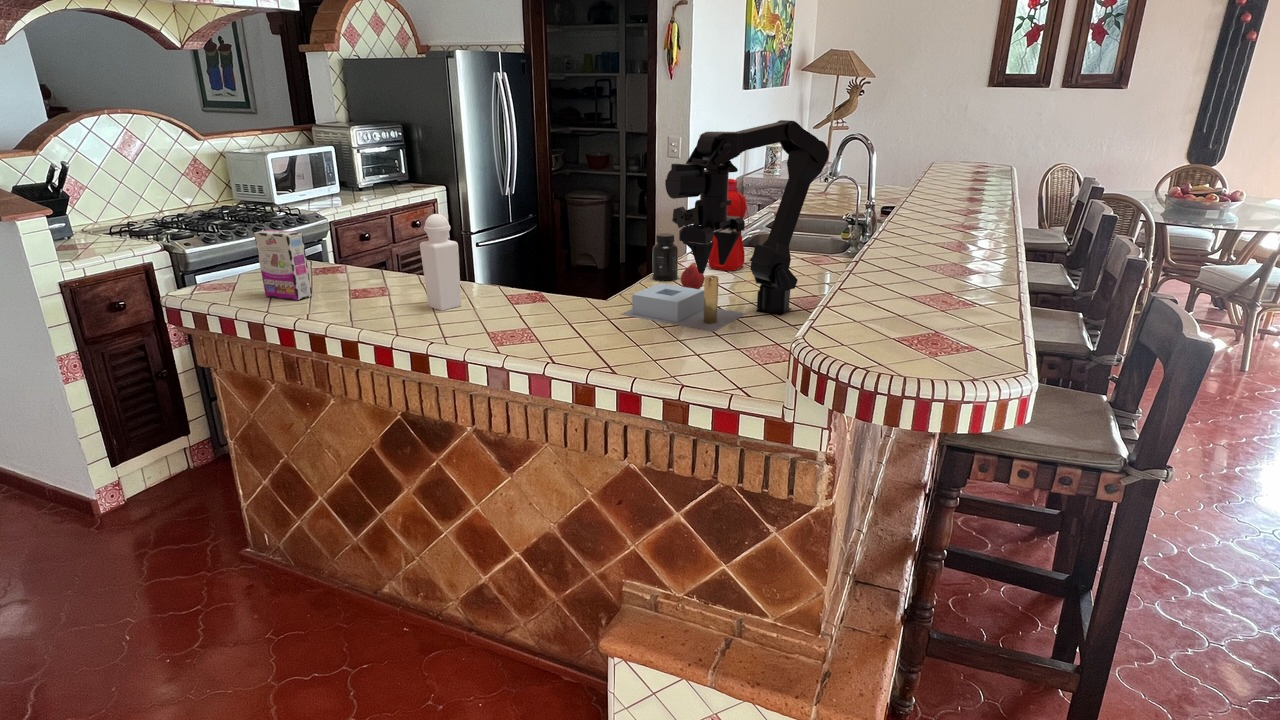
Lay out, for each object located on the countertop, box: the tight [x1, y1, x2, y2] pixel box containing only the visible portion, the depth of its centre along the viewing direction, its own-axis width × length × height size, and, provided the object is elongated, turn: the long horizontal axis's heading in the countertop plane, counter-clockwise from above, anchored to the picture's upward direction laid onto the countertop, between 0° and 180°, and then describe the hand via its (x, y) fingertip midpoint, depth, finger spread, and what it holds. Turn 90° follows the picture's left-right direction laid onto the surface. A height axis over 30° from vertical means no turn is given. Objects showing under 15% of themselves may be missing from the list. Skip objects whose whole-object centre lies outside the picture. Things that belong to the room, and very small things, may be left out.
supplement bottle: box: [652, 232, 679, 282], centre depth 200 cm, size 7×7×12 cm
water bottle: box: [707, 178, 750, 272], centre depth 209 cm, size 9×11×25 cm
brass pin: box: [703, 275, 719, 324], centre depth 162 cm, size 3×3×10 cm
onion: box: [680, 261, 705, 290], centre depth 186 cm, size 6×6×8 cm
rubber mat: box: [620, 308, 747, 333], centre depth 169 cm, size 24×16×1 cm, turn 56°
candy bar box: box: [253, 229, 313, 301], centre depth 184 cm, size 11×5×16 cm, turn 68°
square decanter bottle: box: [419, 213, 462, 312], centre depth 174 cm, size 6×6×22 cm
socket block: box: [631, 283, 704, 322], centre depth 170 cm, size 12×12×4 cm
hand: (711, 268), depth 159 cm, fingers open, 9 cm apart
